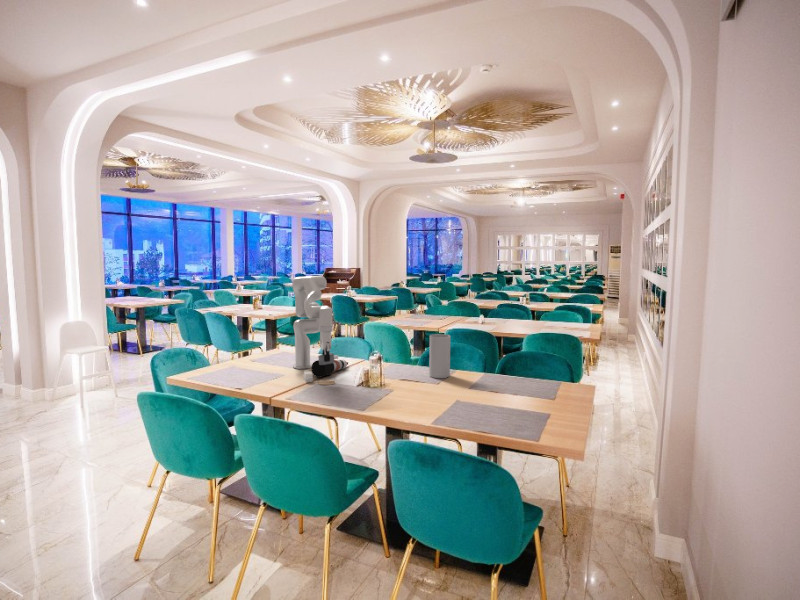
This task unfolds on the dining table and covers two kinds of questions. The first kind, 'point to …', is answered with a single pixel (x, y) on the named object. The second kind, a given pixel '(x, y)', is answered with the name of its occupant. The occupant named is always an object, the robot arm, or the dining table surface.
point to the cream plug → (308, 376)
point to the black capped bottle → (327, 367)
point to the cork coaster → (326, 382)
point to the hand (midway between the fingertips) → (326, 360)
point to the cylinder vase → (439, 356)
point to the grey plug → (332, 357)
